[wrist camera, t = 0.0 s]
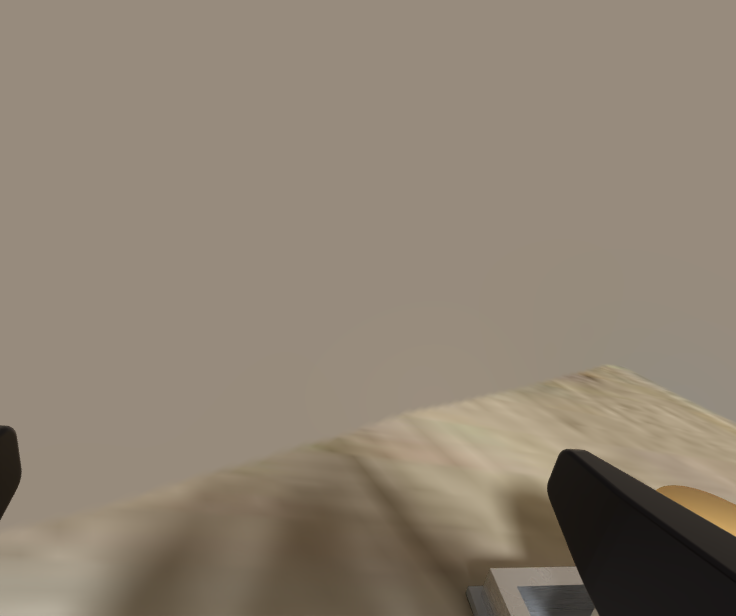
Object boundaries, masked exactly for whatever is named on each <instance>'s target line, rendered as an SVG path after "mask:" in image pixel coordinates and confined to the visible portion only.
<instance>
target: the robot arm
mask: <svg viewBox="0 0 736 616" xmlns="http://www.w3.org/2000/svg"><path fill="white" fill-rule="evenodd" d="M21 472H22V471H21V463H20V455H19V448H18V441H17V436H16V432H15V430H14V429H13V428H12V427H10V426H1V425H0V520H1V518H2V516H3V514H4V512H5V510H6V508H7V506H8V505H9V503H10V501H11V499H12V497H13V495H14V494H15V492H16V489H17V488H18V485H19V483H20V479H21ZM547 492H548V496H549V499H550V502H551V504H552V507H553V510H554V512H555V515H556V517H557V520H558V522H559V525H560V527H561V530H562V532H563V535H564V537H565V540H566V542H567V545H568V548H569V550H570V553H571V555H572V558H573V560H574V563H575V565H576V568H577V570H578V572H579V575H580V577H581V580H582V582H583V584H584V586H585V588H586V590H587V592H588V594H589V597H590V599H591V601H592V603H593V605H594V607H595V609H596V611H597V613H598V615H599V616H736V536H734V535H732V534H731V533H729V532H727V531H725V530H724V529H722V528H720V527H718V526H717V525H715V524H713V523H711V522H710V521H708V520H706V519H704V518H703V517H701V516H699V515H698V514H696V513H694V512H692V511H691V510H689V509H687V508H685V507H684V506H682V505H680V504H678V503H677V502H675V501H673V500H671V499H670V498H668V497H666V496H664V495H663V494H661V493H659V492H658V491H656V490H654V489H652V488H651V487H649V486H647V485H645V484H644V483H642V482H640V481H638V480H637V479H635V478H633V477H631V476H630V475H628V474H626V473H624V472H623V471H621V470H619V469H618V468H616V467H614V466H612V465H611V464H609V463H607V462H605V461H604V460H602V459H600V458H598V457H597V456H595V455H593V454H591V453H590V452H588V451H585V450H579V449H565V450H563V451H562V452H561V453H560V454H559V456H558V458H557V461H556V463H555V466H554V468H553V471H552V473H551V476H550V478H549V481H548V485H547Z"/></svg>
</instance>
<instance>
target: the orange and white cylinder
mask: <svg viewBox="0 0 736 616" xmlns="http://www.w3.org/2000/svg"><path fill="white" fill-rule="evenodd" d="M656 491H658V492H659V493H661V494H663V495H664V496H666V497H668V498H670V499H671V500H673V501H675V502H677V503H678V504H680V505H682V506H684V507H685V508H687V509H689V510H691V511H692V512H694V513H696V514H698V515H699V516H701V517H703V518H704V519H706V520H708V521H710V522H711V523H713V524H715V525H717V526H718V527H720V528H722V529H724V530H725V531H727V532H729V533H731V534H732V535H734V536H736V505H735V504H733V503H730V502H728V501H726V500H724V499H722V498H720V497H717V496H715V495H713V494H710V493H707V492H704V491H701V490H698V489H694V488H690V487H685V486H676V485H671V486H664V487H661V488H659V489H657V490H656ZM591 616H599V615H598V613H597V611H596V609H595V608H594V610H593V612H592V614H591Z"/></svg>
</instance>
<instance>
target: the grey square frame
mask: <svg viewBox="0 0 736 616" xmlns="http://www.w3.org/2000/svg"><path fill="white" fill-rule="evenodd" d="M480 596H481V598H482V601H483V604H484V606H485V609H486V611H487V614H488V616H531V615H530V612H554V611H578V610H594V608H595V607H594V605H593V603H592V601H591V599H590V597H589V594H588V592H587V590H586V588H585V586H584V584H583V582H582V580H581V577H580V575H579V572H578V570H577V568H576V567H525V568H490V570H489V573H488V575H487V578H486V581H485V583H484V586H483V589H482V591H481V594H480Z"/></svg>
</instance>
